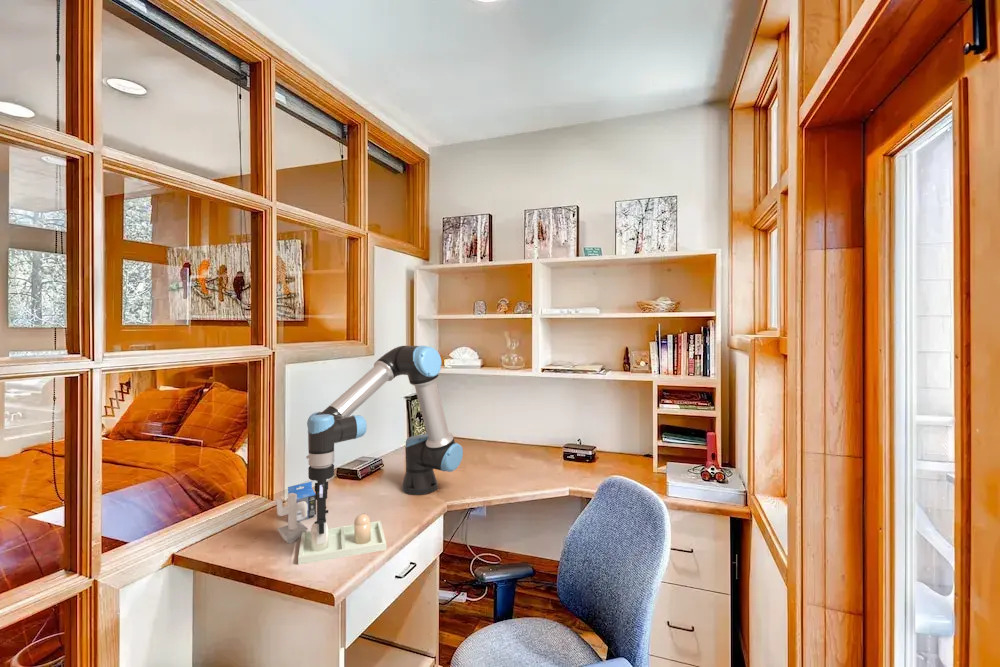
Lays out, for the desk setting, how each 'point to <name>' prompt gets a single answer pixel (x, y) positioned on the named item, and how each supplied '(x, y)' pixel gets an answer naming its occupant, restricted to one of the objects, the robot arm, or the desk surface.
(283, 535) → the figurine
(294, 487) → the label tape cartridge
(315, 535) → the cream domed cylinder
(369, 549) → the tray
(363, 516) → the tan domed cylinder
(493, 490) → the desk surface
